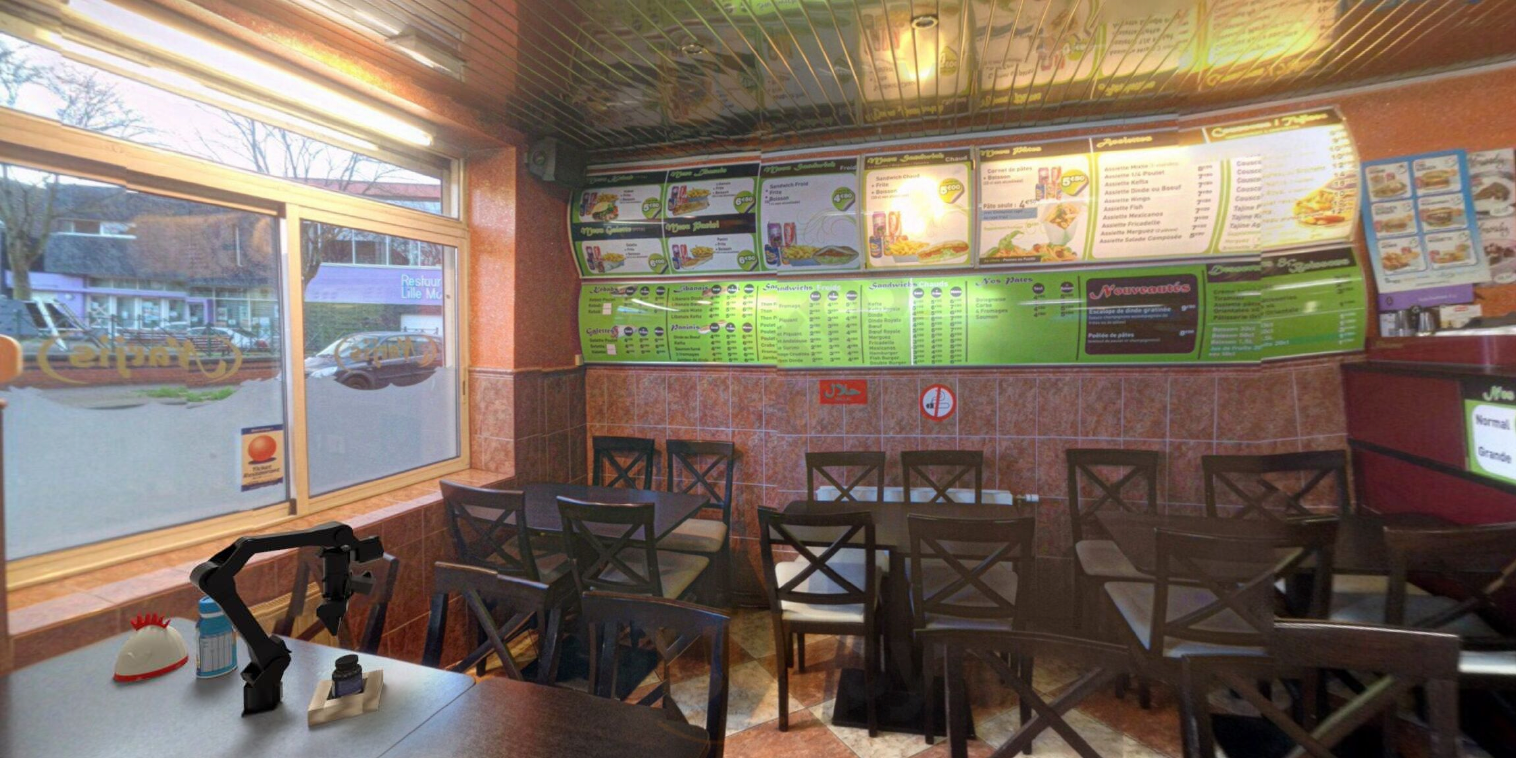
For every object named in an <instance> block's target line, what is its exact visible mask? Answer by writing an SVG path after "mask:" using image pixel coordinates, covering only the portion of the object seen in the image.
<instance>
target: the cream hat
mask: <svg viewBox="0 0 1516 758" xmlns="http://www.w3.org/2000/svg"><path fill="white" fill-rule="evenodd" d="M164 618H165V615H162V616H160V617H158V613H157V612H156V611H155V612H154V613H152V616H151V614H150V612H148V613H146V615H145V616H144V618H143V616H142V614H140V613H139V614H138V615H137V616H136V620H135V619H131V620H130V624H131V626H132V627H133V628H134V629H135V632H134V633H133V634H132V635H130V636H129V638H128V639H127V641H125V643H124V644H123V646H122V647H121V649H120V651H119V653H118V656H117V659H116V661H115V664H114V670H113V671H114V673H113V675H114V680H116V681H118V682H126V683H129V682H137V681H142V680H143V681H144V680H147V679H151V678H155V677H159V676H161V675H164V674H167V673H170V672H173V671H174V670H177V669H179V668H180V667H182V666H183V665H185V664H186V663H187V662H188V661H189V650H188V646H187V645H186V642H185V640H184V639H183V637H182V635H181V633H180V632H179V631H178V630H176V629H175V628H174V627H172V626H170V625H169V624H170V622H171V618H169V619H168V620H167V621H166V622H165V623H164V622H163V621H164Z"/></svg>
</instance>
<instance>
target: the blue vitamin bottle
mask: <svg viewBox="0 0 1516 758" xmlns="http://www.w3.org/2000/svg"><path fill="white" fill-rule="evenodd" d="M198 614H199V615H200V617H199V618H198V619H197V621H196V623H195V627H194V629H195V631H196V632H195V634H194V641H195V650H196V653H195V654H196V657H195V658H196V668H195V676H196V677H197V678H199V679H211V678H218V677H221V676H224V675H226V674H229V673H230V672H232V671H234V670H235V669H237V666H238V656H237V655H238V654H237V653H238V652H237V651H238V650H237V649H238V648H237V646H238V645H237V635H238V632H237V631H236V630H235V628H234V627H233V626H232V624H231V623H230V622H229V620H228V619H227V617H226V616H225V615H224V613H223V612H222V611H221V609H220V608H219V607H218V605H217V604H216V603H215V602H214V601H213V600H212V599H211V598H209V597H208V596H207V595H206V596H205V597H202V598H201V599H199V601H198Z"/></svg>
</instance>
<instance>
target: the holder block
mask: <svg viewBox="0 0 1516 758" xmlns="http://www.w3.org/2000/svg"><path fill="white" fill-rule="evenodd" d="M383 684H384V669H383V668H382V669H377V670H371V671H366V672H362V692H363V693H361V694H356V695H351V696H346V697H342V698H337V699H332V678H331V679H326V680H321V681H320V680H319V681H318V683H317V686H316V689H315V691H314V694H313V697H312V698H311V702H310V704H309V707H308V709H307V726H308V727H310V726H314V725H320V724H323V723H326V722H327V723H328V722H332V721H336V720H340V719H345V718H349V717H354V716H358V715H362V714H367V713H372V712H377V711H379V710H378V709H379V705H380V700H381V694H382V690H383V686H384V685H383Z"/></svg>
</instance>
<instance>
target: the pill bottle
mask: <svg viewBox="0 0 1516 758" xmlns="http://www.w3.org/2000/svg"><path fill="white" fill-rule="evenodd" d="M334 667H335V669H334V670H333V671H332V673H331V679H332V699H337V698H342V697H346V696H351V695H356V694H361V693H364V692H362V673H363V667H362V664H360V663H359V655H358V654H355V653H350V654H349V653H348V654H345V655H342V656H339V657H338V658H337V659H335V661H334Z"/></svg>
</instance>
